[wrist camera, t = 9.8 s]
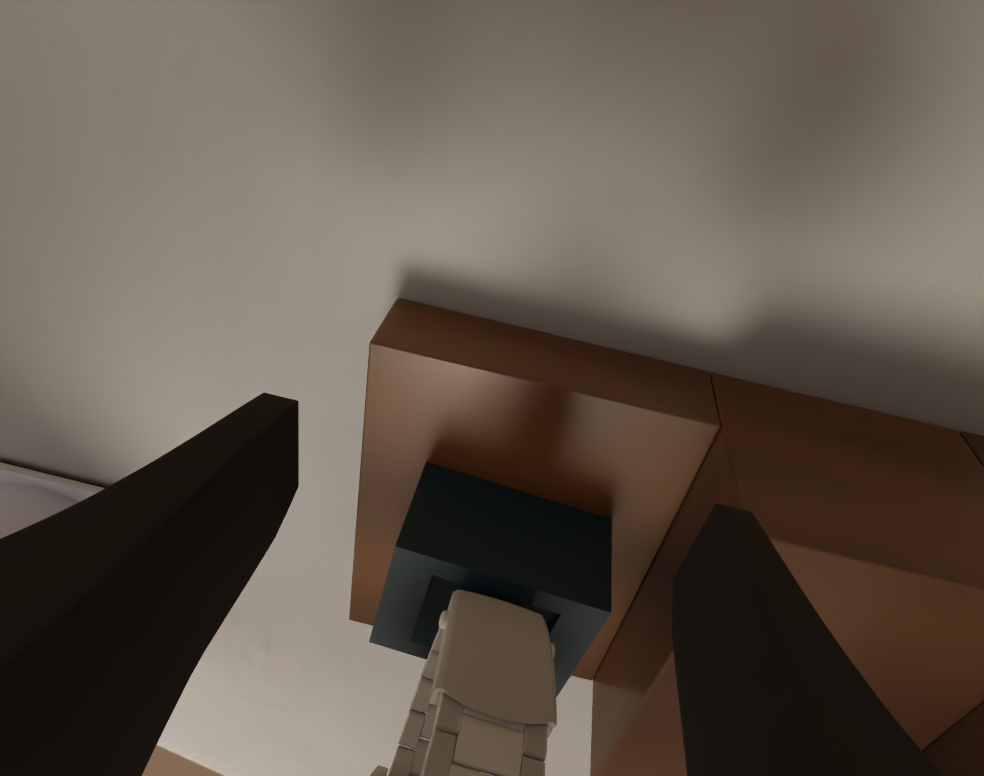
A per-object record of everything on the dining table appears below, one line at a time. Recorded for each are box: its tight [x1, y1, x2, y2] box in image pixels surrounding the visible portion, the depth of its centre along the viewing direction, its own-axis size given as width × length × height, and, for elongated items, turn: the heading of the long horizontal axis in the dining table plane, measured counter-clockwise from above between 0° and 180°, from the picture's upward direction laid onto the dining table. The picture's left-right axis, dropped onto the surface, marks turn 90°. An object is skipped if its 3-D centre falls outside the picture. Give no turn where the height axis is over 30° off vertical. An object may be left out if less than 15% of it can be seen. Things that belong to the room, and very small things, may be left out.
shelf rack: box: [349, 299, 984, 776], centre depth 17 cm, size 12×17×10 cm
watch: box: [369, 462, 612, 776], centre depth 15 cm, size 6×8×11 cm
